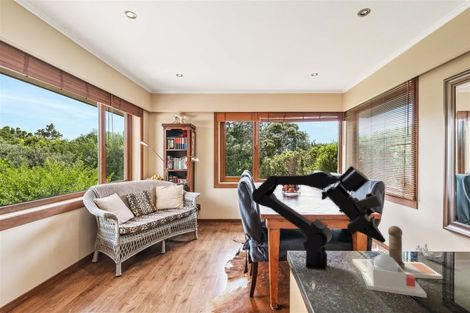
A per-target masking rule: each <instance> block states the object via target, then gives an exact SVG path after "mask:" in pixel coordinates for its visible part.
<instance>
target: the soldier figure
mask: <svg viewBox="0 0 470 313" xmlns="http://www.w3.org/2000/svg"><path fill="white" fill-rule="evenodd" d="M427 246H428V244H427V243H424V247H420V245H417V246H416V247H415V248H414V249H415V250H416V251H417V250H418V251H419V252H420V251H421V252H422V254H421V255H423V257H424V258H426V259H427V260H428V261H435V262H436V263H439V264H441V263H443V261H444V256H445V255H444V254H442V255H440V254H436V253H435V252H432V251H430V250H428V247H427Z"/></svg>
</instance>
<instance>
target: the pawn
mask: <svg viewBox="0 0 470 313" xmlns="http://www.w3.org/2000/svg"><path fill="white" fill-rule="evenodd" d="M387 233H388V255H389V256H391V257H392V258H393V259H394V260H395V261H396V262H397V264H398V265H399V266H400V267H401V268H402V269H404V268H405V263H404V262H405V261H404V262H402V261H403V241H402V240H403V238H402V237H403V230H402V228H400V227H399V226H396V225H392V226H390V227H388V230H387Z"/></svg>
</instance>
